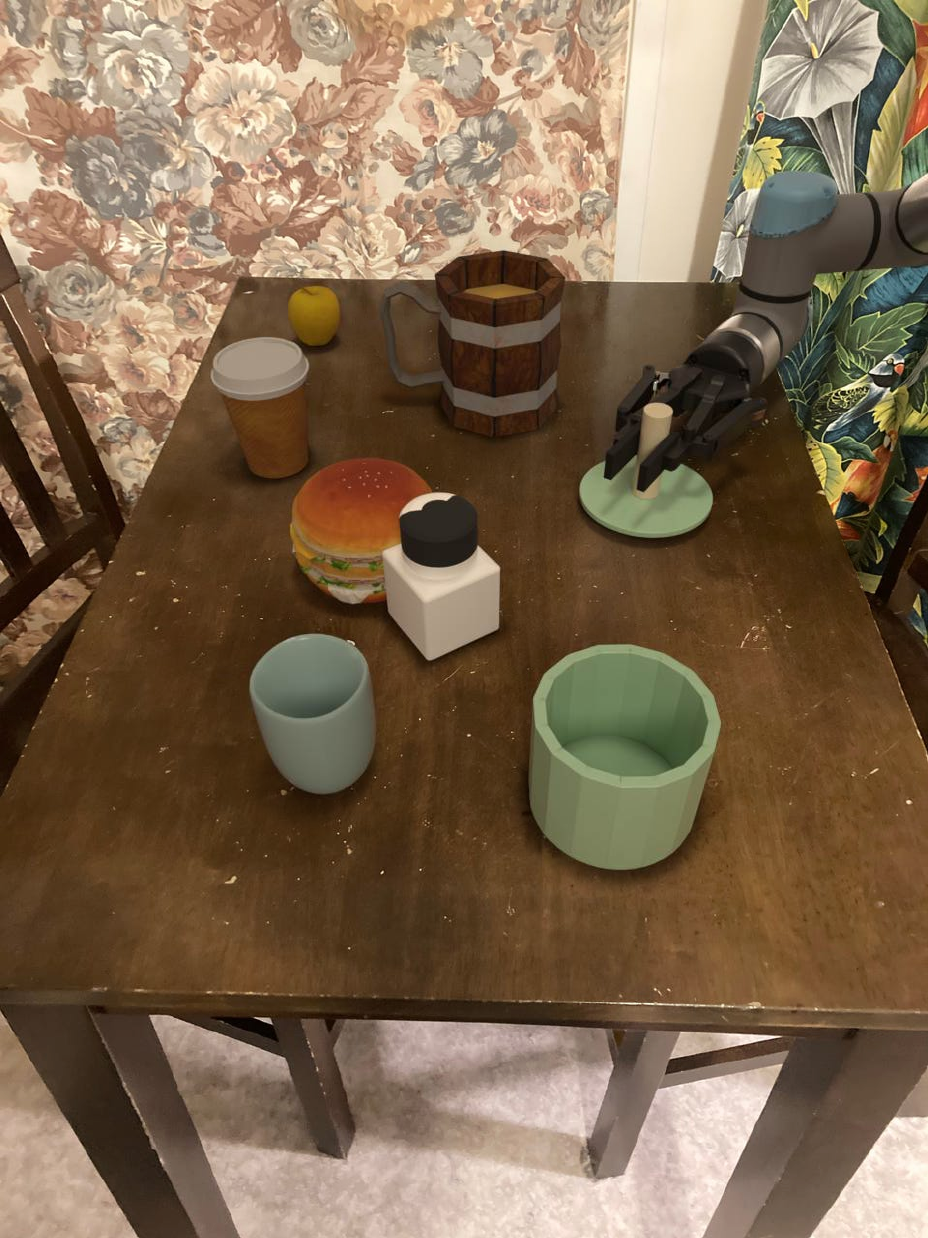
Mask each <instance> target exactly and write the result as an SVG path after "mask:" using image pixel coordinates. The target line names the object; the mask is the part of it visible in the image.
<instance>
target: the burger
mask: <svg viewBox="0 0 928 1238" xmlns="http://www.w3.org/2000/svg"><path fill="white" fill-rule="evenodd" d="M429 493H433V490H432V488H431V487H430V485H429V484H428V483H427V482H426V480H425V479H423V478H422V477H421V476H420V475H419V474H418V473H417V472H416V471H415V470H413V469H412V468H410V467H408V466H407V465H404V464H403V463H400V462H397V461H394V460H391V459H385V458H380V457H360V458H350V459H345V460H343V461H339V462H335V463H332V464H330V465H328V466H326V467H325V468H322V469H321V470H319V471H317V472H316V473H315V474H313V475H312V476H311V477H309V478H308V479H307V480H306V481H305V483H304V484H303V486H302V487H301V488H300V490H299V491H298V493H297V494H296V496H294V500H293V504H292V506H291V507H292V508H291V522H290V524H289V528H290V529H289V532H290V539H291V541H292V543H293V545H292V552H291V553H292V554H293V555H294V557H295V559H296V560H297V564H298V566H299V568H300V570H301V572H302V573H303V574H305V575H306V576H307V578H308V579H309V580H310V581H311V583H313V584H314V585H315V586H316V587H317V588H318V589H319V590H321V591H322V592H323V593H325V594H326V595H327V596H329V597H332V598H334V599H337V600H339V602H343V603H348V604H351V605H354V604H372V603H375V604H376V603H381V602H385V601H386V602H387V596H386V587H385V577H384V568H383V559H382V552H383V551H384V550H386V549H389V548H391V547H394V546H396V545H399V544H401V535H400V523H399V517H400V513H401V511H402V510H403V508H404V507H405V506H406V505H407V504H408V503H409V502H410V501H412V500H413V499H415V498H417V497H419V496H422V495H425V494H429Z"/></svg>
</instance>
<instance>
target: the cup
mask: <svg viewBox="0 0 928 1238" xmlns="http://www.w3.org/2000/svg"><path fill="white" fill-rule="evenodd" d="M248 685H249V686H248V687H249V689H248V693H249V697H250V701H251V702H250V703H251V707H252V710H253V713H254V716H255V719H256V722H257V726H258V728H259V733H260V736H261V738H262V740H263V744H264V746H265V749H266V752H267V753H268V756H269V758H270V760H271V761H272V763H273V765H274V766H275V768H276V769H277V771H278V772H279V774H280V775H281V776H282V777H283V778H284V779H285V780H287V781H288V783H290V784H291V785H293V786H294V787H296V788H298V789H300V790H302V791H305V792H307V793H311V794H315V795H332V794H336V793H339V792H342V791H344V790H346V789H348V788H349V787H351V786H352V785H353V784H354V783H356V782H357V781H358V780H359V779H360V778H361V776H363V774H364V773H365V771H366V770H367V769H368V767H369V765H370V763H371V760H372V758H373V755H374V752H375V748H376V741H377V715H376V704H375V697H374V688H373V682H372V675H371V671H370V666H369V664H368V662H367V659H366V657H365V655H364V654H363V653H362V652H361V651H360V649H359V648H357V647H356V646H354V645H353V644H351V643H350V642H348V641H346V640H344V639H343V638H341V637H337V636H333V635H330V634H324V633H306V634H300V635H296V636H292V637H289V638H287V639H286V640H283V641H281V642H279V643H278V644H276V645H275V646H273V647H271V649H269V650H268V651H267V652H265V654H263V656H262V657H261V658H260V659H259V661H258V662H257V663H256V665H255V667H254V668H253V670H252V672H251V675H250V678H249V683H248Z"/></svg>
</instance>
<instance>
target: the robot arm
mask: <svg viewBox="0 0 928 1238" xmlns="http://www.w3.org/2000/svg"><path fill="white" fill-rule="evenodd" d="M838 190H839V188H838V183H837V182H836V181H835V179H833V178H832V177H830V176H829V175H827V174H824V173H820V172H816V171H802V170H784V171H780V172H776V173H773V174H772V175H771V176H769V177H768V178H766V179H765V180H764V181H763V182H762V184H761V186H760V189H759V191H758V194H757V198H756V200H755V205H754V208H753V212H752V215H751V218H750V222H749V230H748V235H747V242H746V248H745V253H744V259H743V264H742V270H741V276H740V279H739V283H738V286H737V291H736V296H735V302H734V306H733V309H732V313H731V314H730V315H729V316H728V317H727V318H726V319H725V320H724V321H723V322H722V323H721V324H720V325H719V326H717V328H715V329H714V330H713V331H712V332H711V333H710V334H709V335H708V336H707V337H705V339H704V340H703V341H702V342H701V343H699V345H697V346H696V347H695V348H694V349H693V350H692V351H691V352H690V353H689V354H688V356H687V357H686V359H685V360H684V362H683V363H682V364H681V365H679V366H676V367H673V368H672V369H670V371H669V372H661V371H656V366H655V365H653V364H645V365H644V366H643V367H642V375H641V377H640V379H639V380H638V381H637V382H636V384H635V385H634V386H633V387H632V389H631V390H630V391H629V392H628V393H627V395H626V396H625V397H624V398H623V400H621V402H620V403H619V405H618V406H617V409H616V417H615V426H614V431H615V434H614V436H613V445H612V447H610V449H609V450H608V451H606V452H605V460H604V461H605V469H604V478H605V479H608V480H612V479H613V478H614V477H615V476H616V475H617V474H618V473H619V472H620V471H621V470H622V469H623V468H624V467H625V466H626V465H627V464H628V463H629V462H630V461H631V460H632V459H633V458H634V457H635V456H636V455H637V452H638V445H639V438H640V431H641V424H642V416H643V409H644V407H645V406H646V405H648V404H651V403H663V404H666V405H668V406H670V407H671V408H672V410H673V414H672V418H676V419H678V418H679V417H680V416H682V415H684V413H686V412H692V415H691V417H690V418H689V420H688V422H686V424H683V425H682V429H681V433H680V432H677V431H674V430H672V431H670V432H669V435H668V436H667V437H666V438H665V439H664V440H663V441H662V442H661V443H660V444H659V445H658V446H657V447H656V448H655V449H654V450H653V451H652V452H651V453H650V455H649V456H648V457H647V458H646V459H645V460H644V461H643V462H642V463H641V464H640V467H639V474H638V481H637V488H636V490H638V491H641V492H645V491H646V490H647V489H648V487H649V486H650V485H651V484H652V483H653V482H654V481H655V480H656V479H657V478H658V477H659V476H660V474H661V473H662V472H663V471H664V470H667V471H670V472H672V471H674V470H676V469H677V468H678V467H679V466H680V464H683V463H684V462H685V460H688V459H690V458H691V457H698V460H699V461H701V462H705V463H708V462H711V461H712V460H714V459H715V458H716V457H717V456H718V455H719V454H720V453H722V452H723V451H724V450H725V449H726V448H727V447H729V446H730V445H731V444H732V443H733V442H734V441H736V440H737V439H738V438H739V437H740V436H742V435H743V434H744V433H745V432H746V431H747V430H751V429H753V428H756V427H759V426H761V425H762V424H763V421H764V417H765V413H766V408H767V405H768V400H767V399H766V398H765V397H761V396H760V397H759V396H758V397H754V398H751V396H752V395H753V394H754V393H755V392H756V391H757V389H758V388H759V387H760V386H761V385H762V384H763V382H765V380H766V379H767V378H768V377H769V376H770V374H771V373H772V372H773V371H774V370H775V369H776V368H777V367H778V366H779V364H780V363H782V361H783V360H784V359H785V358H786V357H787V356H788V355H789V354H790V353H791V352H793V351H794V350H795V349H796V348H797V347H798V346H799V343H800V342H802V341H803V340H804V337H805V335H806V333H807V332H808V330H809V329H810V326H811V324H812V322H813V317H814V307H813V303H812V299H811V297H810V296H811V294H812V290H813V287H814V284H815V281H816V277H817V275H821V274H822V275H823V274H834V273H835V274H836V273H848V272H849V273H850V272H859V271H872V270H883V269H884V270H886V269H901V268H910V269H919V268H921V269H922V268H925V267H928V173H926V174H924V175H923V176H921V177H919V178H918V179H916V180H913V181H911V182H910V183H909V184H906V185H905V186H903V187H901V188H896V189H892V190H879V191H867V192H866V191H865V192H854V193H853V192H851V193H838V192H839V191H838ZM663 387H666V388H667V390H666V391H664V392H663V393H662V394H660V395H658V393H659V392H658V391H660V390H661V389H662V388H663ZM657 395H658V396H657ZM653 396H657V397H656V398H654V399H653ZM724 414H726V415H724ZM719 415H724V417H722V418H721V419H720V420H719V421H718V422H716V423H715V424H714V425H712V424H713V422H714V421H715V419H716V418H717V417H718V416H719ZM708 428H709V429H708ZM680 435H681V436H680Z"/></svg>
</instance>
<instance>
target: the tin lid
mask: <svg viewBox="0 0 928 1238" xmlns="http://www.w3.org/2000/svg"><path fill="white" fill-rule="evenodd" d="M672 414H673V410H672V408H671V407H670V406H668V405H666V404H663V403H651V404H648V405H646V406H645V407H644V409H643V416H642V424H641V431H640V438H639V445H638V452H637V455H636V456H635V457H634V458H633V459H632V460H631V461H630V462H629V463H628V464H627V465H626V466H625V467H624V468H623V469H622V470H621V471H620V472H619V473H618V474H617V475H616V476H615V477H614V478H613V479H612V480H608V479H605V478H604V469H605V460H604V461H601V462H599V463H598V464H596V465H594V466H592V467H591V468H590V469H589V470H588V471H587V472H586V473H585V474H584V475H583V477H582V478H581V481H580V483H579V488H578V497H579V502H580V505H581V506H582V508H583V510H584V511H585V513H587V515H588V516H589V517H590V518H591V519H593V520H594V521H595V522H597V523H598V524H600V525H601V526H603V527H604V528H607V529H609V530H612V531H614V532H616V533H620V534H623V535H627V536H631V537H637V538H645V539H646V538H648V539H652V538H653V539H657V538H658V539H659V538H667V537H668V538H669V537H675V536H678V535H683V534H685V533H688V532H690V531H692V530H694V529H696V528H697V527H698V526H700V525H701V524H703V523H704V522H705V521H706V519H707V518H708V517H709V515H710V513H711V511H712V507H713V502H714V496H713V492H712V489H711V487H710V485H709V484H708V482H707V480H706V479H705V478H704V477H702V476H701V475H700V474H699V473H698V472H696V471H695V470H693V469H692V468H690V467H689V466H687V465H685V464H683V463H682V464H680V466H679V467H678V468H677V469H676V470H674V471H672V472H670V471H667V470H664V471H663V472H662V473H661V474H660V476H659V477H658V478H657V479H656V480H655V481H654V482H653V483H652V484H651V485H650V486H649V487H648V489H647V490H646V491H645V492H641V491H638V490H636V488H637V481H638V474H639V467H640V464H641V463H642V462H643V461H644V460H645V459H646V458H647V457H648V456H649V455H650V453H651V452H652V451H653V450H654V449H655V448H656V447H657V446H658V445H659V444H660V443H661V442H662V441H663V440H664V439H665V438H666V437H667V436H668V435H669V434H670V433H671V425H672V420H673V417H672Z"/></svg>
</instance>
